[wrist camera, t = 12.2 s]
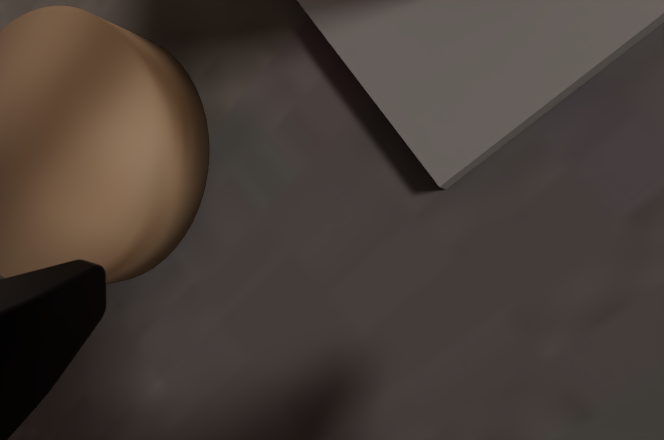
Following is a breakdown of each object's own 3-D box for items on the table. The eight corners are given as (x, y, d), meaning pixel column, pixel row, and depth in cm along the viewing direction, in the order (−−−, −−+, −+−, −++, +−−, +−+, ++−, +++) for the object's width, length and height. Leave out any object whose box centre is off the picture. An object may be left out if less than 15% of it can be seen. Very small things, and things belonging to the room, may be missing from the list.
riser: (256, 177, 19) (203, 168, 16) (86, 329, 22) (17, 343, 19) (128, -18, 21) (64, -55, 19) (-9, 143, 24) (-81, 132, 22)
